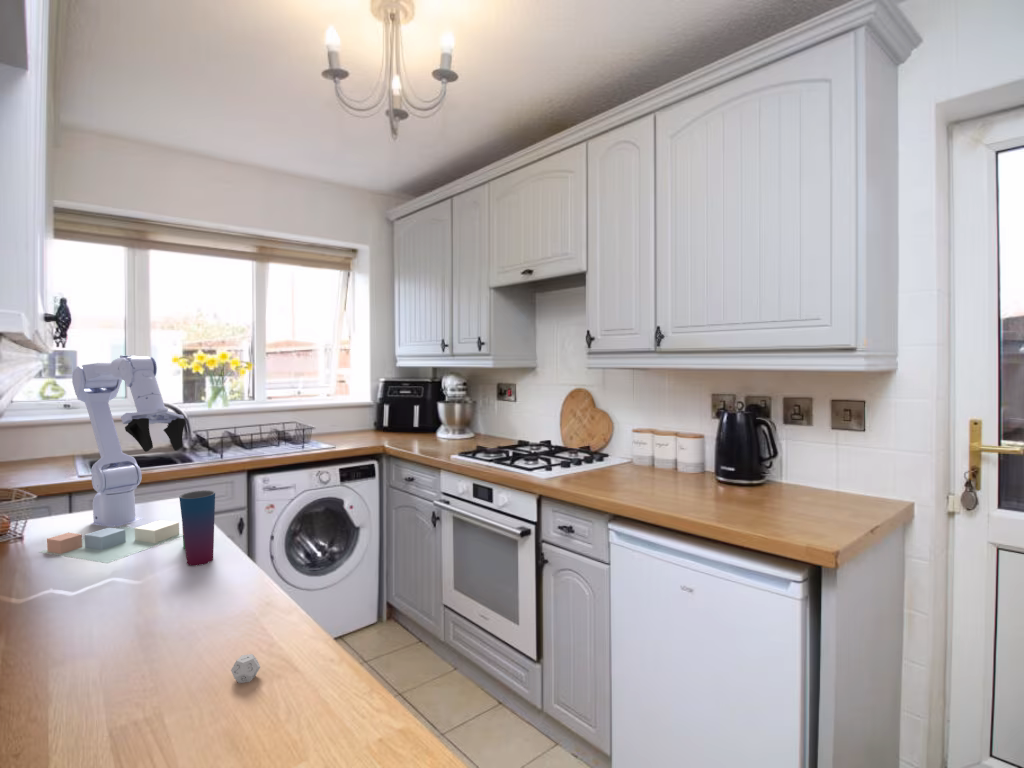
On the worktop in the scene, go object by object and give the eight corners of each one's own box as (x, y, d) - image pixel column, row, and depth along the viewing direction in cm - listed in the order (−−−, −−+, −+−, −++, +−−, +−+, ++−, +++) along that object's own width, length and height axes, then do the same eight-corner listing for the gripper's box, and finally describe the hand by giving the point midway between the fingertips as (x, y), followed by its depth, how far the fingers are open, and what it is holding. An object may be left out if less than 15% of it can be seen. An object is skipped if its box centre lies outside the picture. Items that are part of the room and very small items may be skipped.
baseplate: (38, 554, 122) (38, 551, 122) (121, 528, 141) (121, 526, 140) (107, 565, 116) (107, 563, 116) (185, 536, 134) (185, 534, 134)
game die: (230, 676, 76) (229, 656, 76) (259, 668, 78) (258, 648, 78) (232, 689, 73) (231, 668, 73) (261, 681, 75) (261, 660, 75)
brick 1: (47, 551, 123) (46, 538, 122) (68, 544, 127) (68, 532, 127) (61, 553, 121) (60, 540, 121) (82, 546, 126) (81, 534, 125)
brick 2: (85, 547, 125) (84, 534, 125) (109, 539, 130) (108, 527, 130) (102, 549, 124) (101, 537, 123) (125, 541, 129) (125, 529, 129)
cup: (222, 560, 118) (219, 493, 117) (187, 570, 113) (184, 500, 112) (211, 553, 123) (209, 488, 122) (177, 561, 118) (175, 494, 117)
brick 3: (134, 540, 130) (134, 528, 130) (159, 531, 136) (159, 520, 136) (154, 543, 128) (154, 530, 128) (179, 534, 134) (178, 522, 134)
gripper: (129, 389, 124) (145, 442, 121) (186, 394, 138) (202, 441, 134) (109, 404, 126) (125, 456, 123) (167, 407, 139) (183, 453, 136)
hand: (164, 449), depth 129 cm, fingers open, 7 cm apart
